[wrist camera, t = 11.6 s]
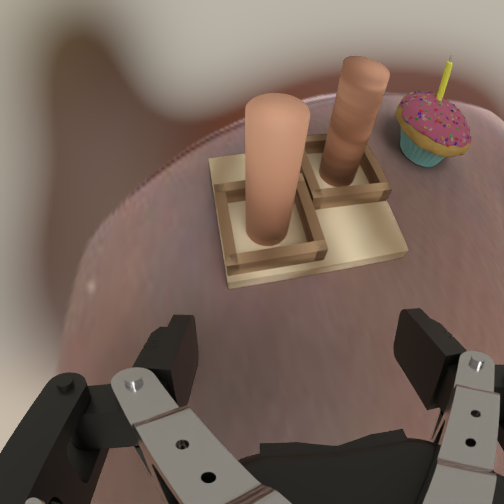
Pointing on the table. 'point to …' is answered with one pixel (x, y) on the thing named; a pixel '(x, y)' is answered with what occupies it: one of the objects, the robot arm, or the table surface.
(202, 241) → the table surface
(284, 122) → the peg
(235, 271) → the board
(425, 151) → the cupcake
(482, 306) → the table surface
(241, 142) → the table surface
